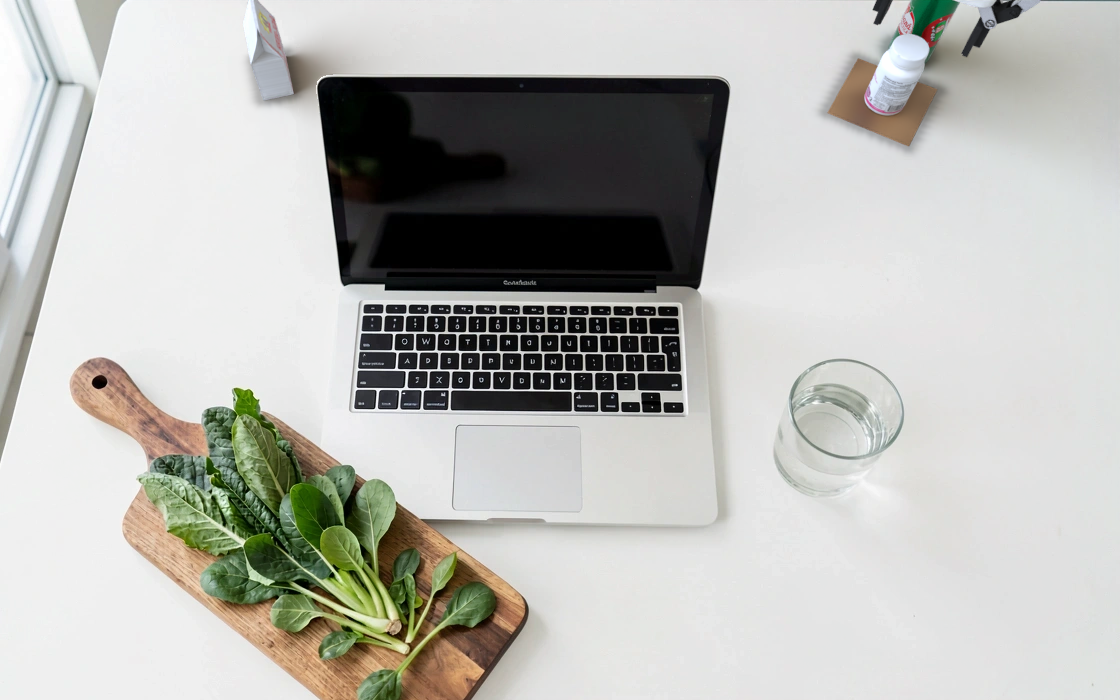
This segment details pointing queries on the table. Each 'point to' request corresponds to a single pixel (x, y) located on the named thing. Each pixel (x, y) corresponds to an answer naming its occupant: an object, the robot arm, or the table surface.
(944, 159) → the table surface
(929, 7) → the soda can
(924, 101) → the coaster
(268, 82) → the milk carton
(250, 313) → the table surface
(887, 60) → the pill bottle
